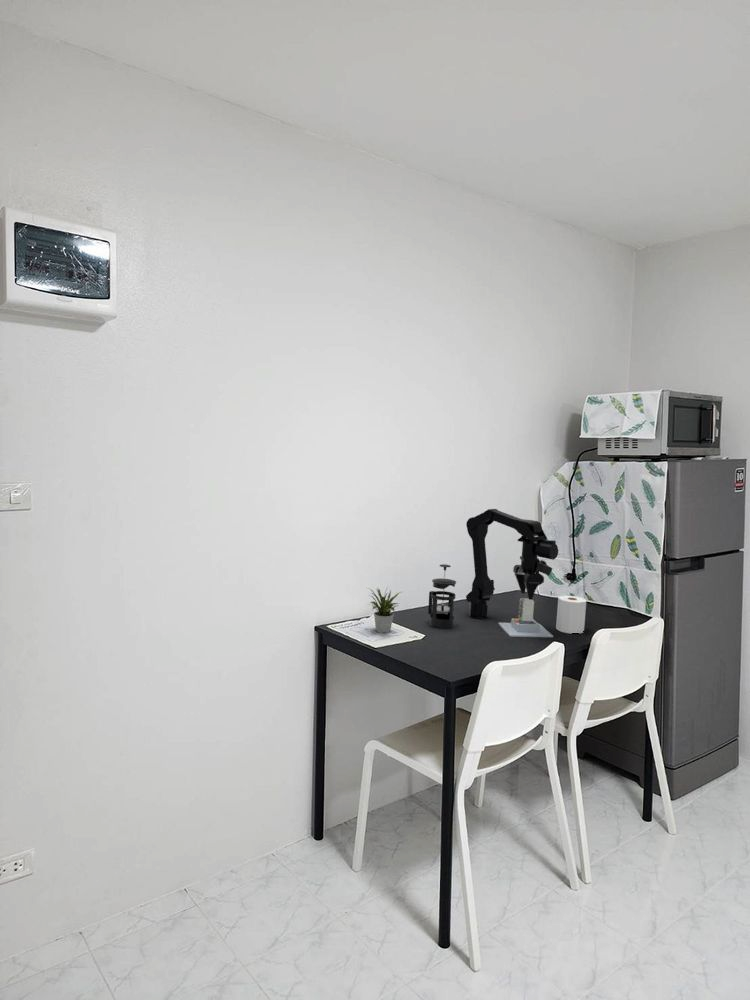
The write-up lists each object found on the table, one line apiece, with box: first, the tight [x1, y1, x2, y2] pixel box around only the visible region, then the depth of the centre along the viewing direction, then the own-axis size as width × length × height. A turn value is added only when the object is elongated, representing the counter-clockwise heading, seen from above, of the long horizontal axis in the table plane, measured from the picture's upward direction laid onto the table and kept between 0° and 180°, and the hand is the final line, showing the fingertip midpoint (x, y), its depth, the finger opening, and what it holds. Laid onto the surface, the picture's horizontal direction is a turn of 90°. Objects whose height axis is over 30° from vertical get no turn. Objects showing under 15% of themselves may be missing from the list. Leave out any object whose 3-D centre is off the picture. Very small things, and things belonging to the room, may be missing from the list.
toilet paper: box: [555, 595, 587, 634], centre depth 267 cm, size 10×10×12 cm
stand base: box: [498, 618, 554, 638], centre depth 263 cm, size 16×16×4 cm
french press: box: [427, 563, 457, 630], centre depth 265 cm, size 12×9×23 cm
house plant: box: [367, 586, 403, 633], centre depth 254 cm, size 14×14×16 cm
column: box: [517, 597, 535, 621], centre depth 263 cm, size 5×4×8 cm
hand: (526, 596), depth 263 cm, fingers open, 9 cm apart
